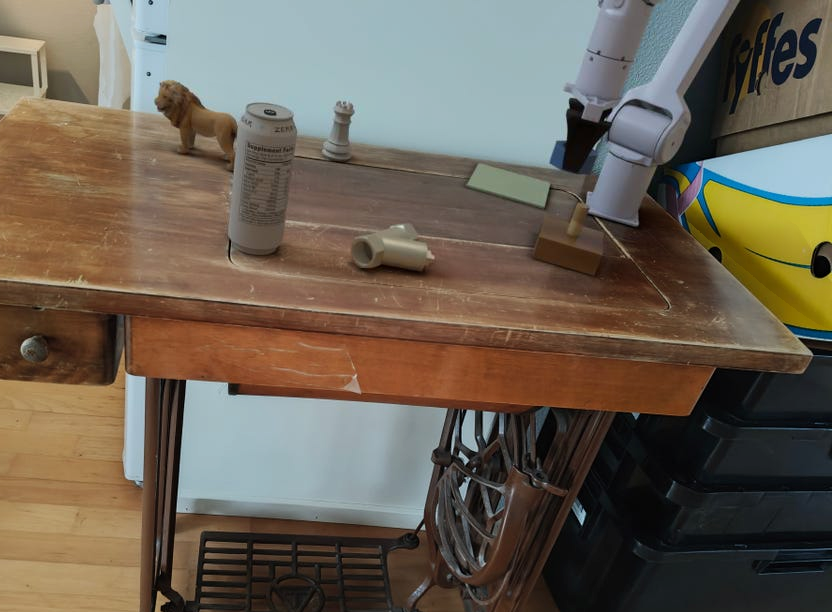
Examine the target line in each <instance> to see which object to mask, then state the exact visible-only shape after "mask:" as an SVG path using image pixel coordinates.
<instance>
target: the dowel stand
mask: <svg viewBox="0 0 832 612" xmlns="http://www.w3.org/2000/svg"><path fill="white" fill-rule="evenodd" d="M589 208H590V206H588V205H587V204H586V203H584V202H577V203H576V206H575V209H574V211H573V214H572V216H571V219H570V222H569V221H565V220H562V219H559V218H555V217H551V216H548V215H544V216H543V218H542V221H541V223H540V226H539V230H538V232H537V235H536V240H535V244H534V247H533V252H532V256H531V258H533V259H536V260H539V261H542V262H545V263H548V264H551V265H552V264H553V265H555V266H559V267H563V268H566V269H569V270H571V271H572V270H573V271H575V272H579V273H583V274H586V275H589V276H592V277H593V276H595V275H596V272H597V270H598V268H599V266H600V263H601V261H602V258H603V257H604V232H603V231H601V230H598V229H597V230H596V229H593V228H590V227H587V226H584V223H585V221H586V218H587V217H588V211H589Z"/></svg>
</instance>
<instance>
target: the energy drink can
mask: <svg viewBox="0 0 832 612" xmlns="http://www.w3.org/2000/svg"><path fill="white" fill-rule="evenodd" d="M294 116H295V114H294V112H293V110H291V109H289V108H288V107H285V106H282V105H280V104H275V103H270V102H250V103H247V104H246V106H245V111H244V113H243V114H242V116H241V117H240V119H238V123H237V126H238V131H237V141H236V142H235V143H236V144H235V152H234V153H235V164H234V170H233V176H232V185H231V198H230V208H229V209H230V210H229V221H228V230H227V231H228V232H227V235H228V238H229V239H230V240H231V244H232V245H233V247H234V248H235V249H237V250H238V251H240V252H243V253H245V254H248V255H254V256H264V255H265V256H266V255H270V254H272V253H274V252H275V251H276V250H277V248H278V247H279V246H280V245H282V243H283V240H284V232H285V225H286V217H287V210H288V204H289V203H288V202H289V195H290V189H291V182H292V181H291V180H292V174H293V166H294V159H295V152H296V145H297V137H298V129H297V126H296V124H295V120H294Z"/></svg>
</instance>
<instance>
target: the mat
mask: <svg viewBox="0 0 832 612" xmlns="http://www.w3.org/2000/svg"><path fill="white" fill-rule="evenodd" d="M465 186H466V188H468V189H472V190H476V191H479V192H483V193H486V194H488V195H489V194H490V195H493V196H496V197H500V198H503V199H507V200H511V201H514V202H517V203H521V204H525V205H528V206H532V207H535V208H539V209H542V210H544V209H545V207H546V203H547V198H548V194H549V191H550V186H551V182H549V181H546V180H541V179H539V178H535V177H531V176H527V175H523V174H521V173H517V172H513V171H509V170H506V169H502V168H498V167H495V166H491V165H488V164H485V163H481V162H478V163H477V165H476V167H475V169H474V171H473V172H472V174H471V177H470V178H469V180H468V182H467V183H466V185H465Z"/></svg>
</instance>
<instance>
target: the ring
mask: <svg viewBox="0 0 832 612" xmlns="http://www.w3.org/2000/svg"><path fill="white" fill-rule="evenodd" d="M565 146H566V140H556V141H555V143H554V147H553V150H552V152H551V156H550V157H549V158H550V159H549V164H550V165H552V166H553V167H555V168H556V169H558V170H559V171H562V172H566V173H570V174H574V175H591V173H592V171H593V167H594V165H595V162H596V160H597V158H598V150H595V149H594V148H593V149H592V151H591V152H590V154H589V156H588V158H587V159H586V161H585V163H584V164H583V166H582V168H581V169H580V170H579V172H578V173H576V172H573V171H569V170H565V169H562V163H563V156H564V151H565Z"/></svg>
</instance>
